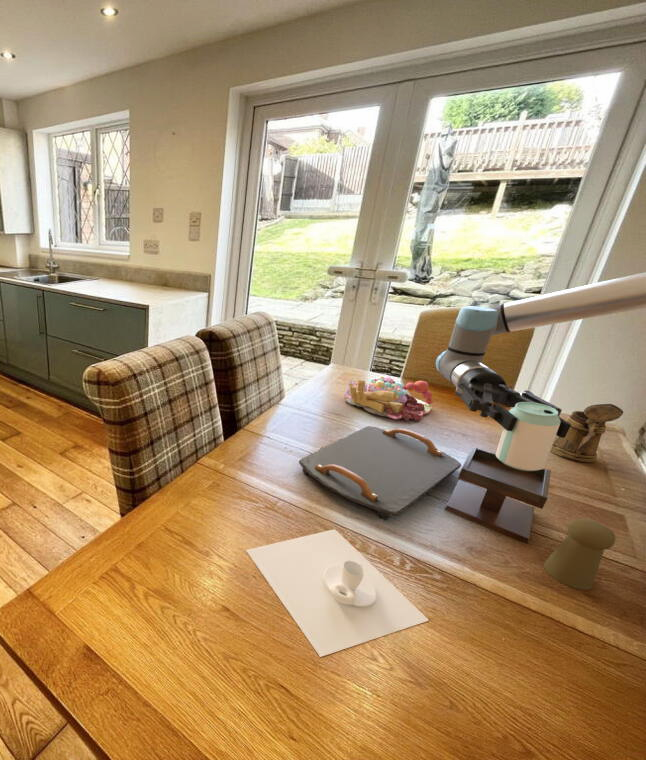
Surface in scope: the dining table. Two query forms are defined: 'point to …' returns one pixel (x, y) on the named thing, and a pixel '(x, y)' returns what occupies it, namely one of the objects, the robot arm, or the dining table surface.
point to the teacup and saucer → (333, 591)
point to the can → (529, 437)
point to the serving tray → (381, 468)
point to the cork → (580, 553)
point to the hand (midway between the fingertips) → (538, 427)
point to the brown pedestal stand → (498, 494)
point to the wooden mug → (585, 432)
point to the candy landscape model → (390, 398)
